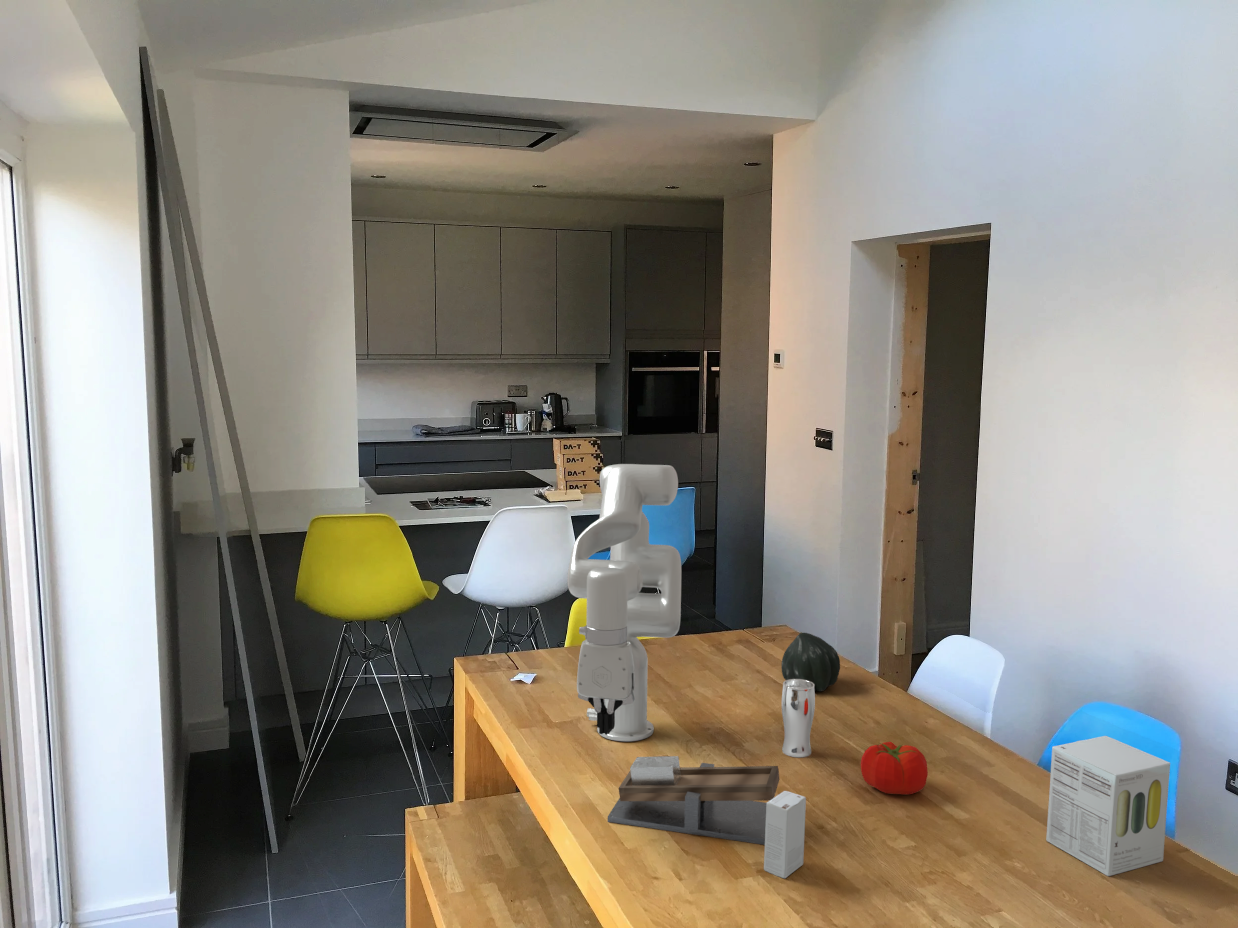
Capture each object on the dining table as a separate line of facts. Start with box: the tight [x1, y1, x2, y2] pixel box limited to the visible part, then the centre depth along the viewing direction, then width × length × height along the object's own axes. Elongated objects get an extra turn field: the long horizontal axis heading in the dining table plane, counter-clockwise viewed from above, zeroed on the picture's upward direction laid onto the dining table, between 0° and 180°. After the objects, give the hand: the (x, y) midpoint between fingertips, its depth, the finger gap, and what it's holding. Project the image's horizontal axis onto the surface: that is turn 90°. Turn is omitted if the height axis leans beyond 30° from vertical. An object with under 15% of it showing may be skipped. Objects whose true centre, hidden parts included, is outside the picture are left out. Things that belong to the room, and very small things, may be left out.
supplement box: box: [1045, 735, 1171, 877], centre depth 167 cm, size 13×13×18 cm
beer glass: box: [781, 679, 816, 759], centre depth 208 cm, size 7×7×15 cm
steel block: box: [629, 755, 681, 786], centre depth 181 cm, size 8×5×4 cm, turn 74°
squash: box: [781, 632, 841, 692], centre depth 250 cm, size 14×15×15 cm
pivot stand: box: [607, 762, 767, 846], centre depth 179 cm, size 31×15×7 cm, turn 74°
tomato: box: [860, 741, 929, 796], centre depth 192 cm, size 13×12×8 cm
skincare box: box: [763, 790, 807, 879], centre depth 161 cm, size 6×4×12 cm
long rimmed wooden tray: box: [618, 765, 780, 802], centre depth 179 cm, size 28×9×2 cm, turn 74°
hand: (605, 731), depth 182 cm, fingers closed
